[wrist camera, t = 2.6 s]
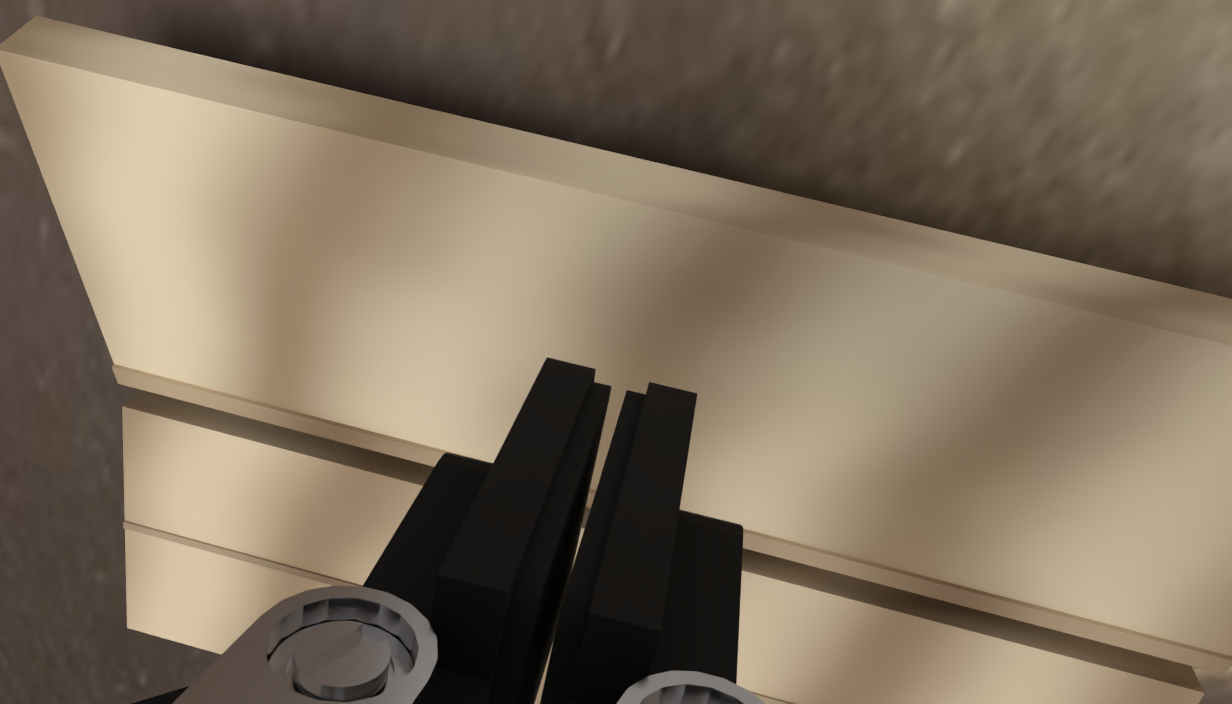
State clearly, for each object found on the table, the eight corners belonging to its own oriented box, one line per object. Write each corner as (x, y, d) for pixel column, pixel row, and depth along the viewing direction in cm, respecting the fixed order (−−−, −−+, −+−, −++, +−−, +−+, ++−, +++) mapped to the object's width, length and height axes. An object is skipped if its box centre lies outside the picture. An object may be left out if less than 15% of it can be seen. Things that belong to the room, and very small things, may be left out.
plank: (1508, 364, 16) (1540, 424, 16) (1208, 623, 23) (1218, 675, 22) (36, 15, 18) (-9, 51, 17) (148, 348, 25) (119, 386, 24)
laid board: (1186, 656, 24) (1205, 695, 23) (1072, 856, 27) (1084, 899, 26) (150, 385, 26) (120, 407, 24) (152, 600, 28) (125, 629, 27)
